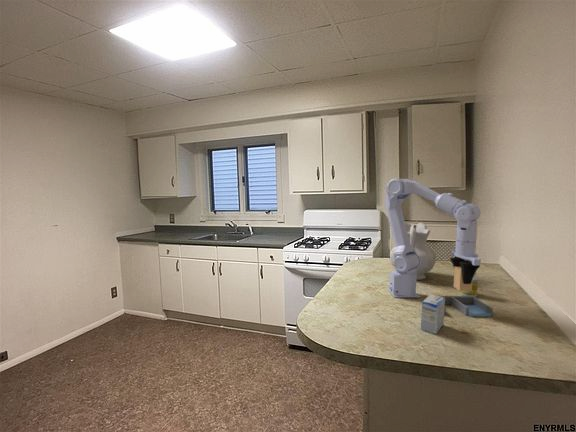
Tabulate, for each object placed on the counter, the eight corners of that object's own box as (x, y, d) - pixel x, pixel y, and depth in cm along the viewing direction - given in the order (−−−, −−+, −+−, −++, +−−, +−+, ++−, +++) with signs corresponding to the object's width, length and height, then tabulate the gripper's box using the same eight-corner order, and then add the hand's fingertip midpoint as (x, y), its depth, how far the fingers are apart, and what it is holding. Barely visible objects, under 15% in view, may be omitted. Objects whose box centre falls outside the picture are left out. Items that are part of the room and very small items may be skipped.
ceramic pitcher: (440, 288, 133) (448, 228, 131) (391, 281, 136) (399, 224, 133) (426, 273, 155) (433, 222, 152) (384, 268, 158) (390, 218, 155)
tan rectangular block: (459, 290, 105) (460, 269, 104) (453, 286, 109) (454, 266, 108) (471, 290, 105) (473, 269, 104) (465, 286, 109) (466, 266, 108)
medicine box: (428, 321, 99) (429, 293, 98) (443, 325, 96) (445, 297, 96) (420, 330, 93) (421, 301, 92) (436, 334, 90) (438, 305, 89)
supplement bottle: (465, 291, 126) (466, 267, 125) (479, 295, 122) (481, 270, 121) (457, 294, 123) (459, 269, 122) (472, 298, 119) (474, 273, 118)
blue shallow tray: (443, 316, 103) (443, 308, 102) (427, 302, 114) (428, 295, 114) (493, 316, 103) (494, 309, 102) (472, 302, 114) (473, 296, 114)
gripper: (491, 245, 98) (488, 288, 99) (466, 237, 112) (464, 275, 114) (468, 245, 98) (465, 288, 99) (446, 237, 112) (443, 275, 114)
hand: (463, 281), depth 106 cm, fingers closed on tan rectangular block, 4 cm apart
